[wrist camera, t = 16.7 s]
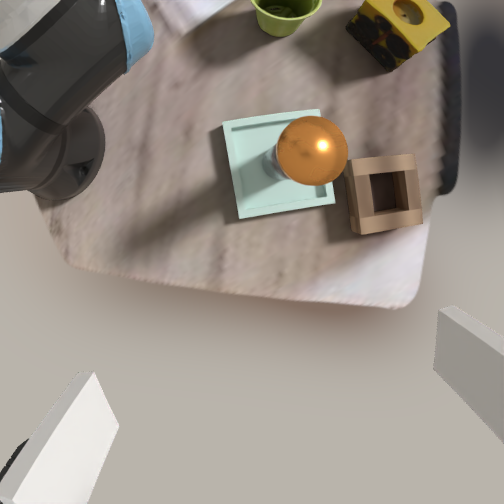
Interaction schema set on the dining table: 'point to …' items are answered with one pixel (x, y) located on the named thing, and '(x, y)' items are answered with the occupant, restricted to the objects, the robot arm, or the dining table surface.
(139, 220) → the dining table surface
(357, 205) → the socket collar
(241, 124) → the tray
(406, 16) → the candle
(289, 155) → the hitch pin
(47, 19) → the robot arm
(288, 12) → the plant pot
